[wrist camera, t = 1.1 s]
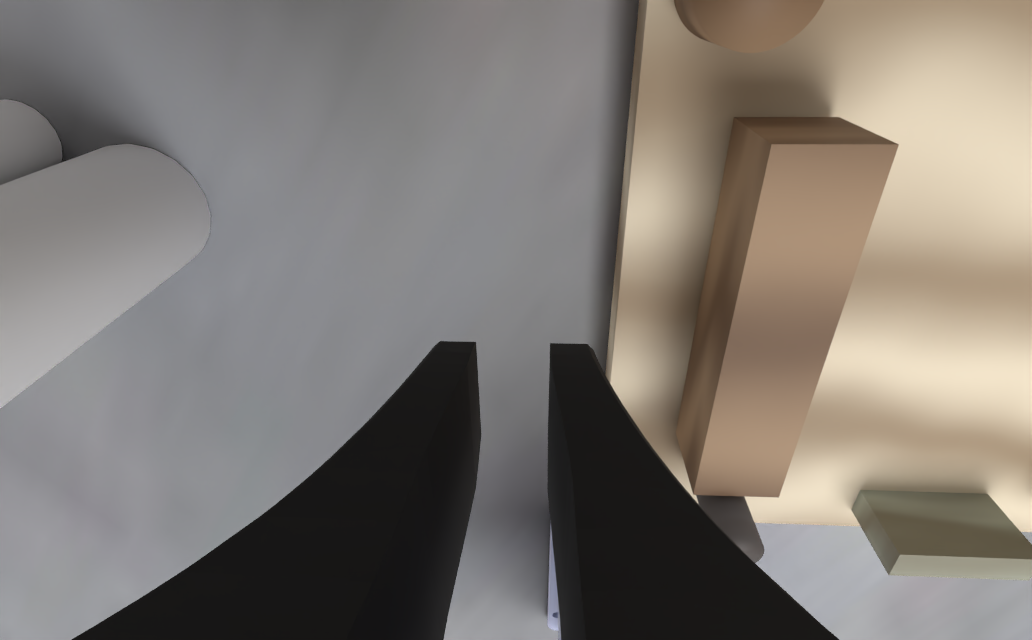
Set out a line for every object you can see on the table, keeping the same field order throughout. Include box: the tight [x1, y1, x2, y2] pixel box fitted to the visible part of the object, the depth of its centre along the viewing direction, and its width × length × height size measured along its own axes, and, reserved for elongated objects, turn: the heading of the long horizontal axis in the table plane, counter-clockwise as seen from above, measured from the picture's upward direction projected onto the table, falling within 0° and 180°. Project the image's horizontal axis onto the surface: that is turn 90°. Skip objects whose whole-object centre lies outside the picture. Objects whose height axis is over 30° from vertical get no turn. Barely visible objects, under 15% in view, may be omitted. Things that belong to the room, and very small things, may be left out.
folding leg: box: [676, 117, 899, 498], centre depth 17 cm, size 12×3×3 cm, turn 1°
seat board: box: [605, 0, 1032, 580], centre depth 17 cm, size 22×22×6 cm
